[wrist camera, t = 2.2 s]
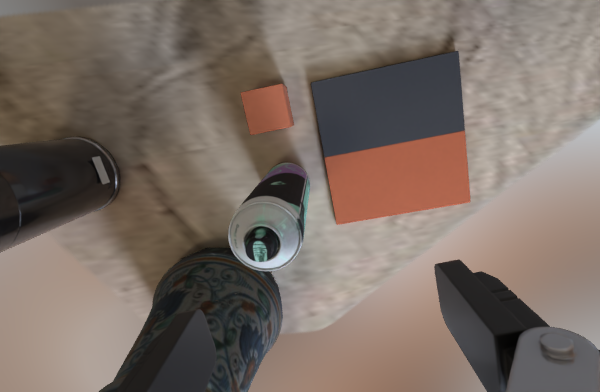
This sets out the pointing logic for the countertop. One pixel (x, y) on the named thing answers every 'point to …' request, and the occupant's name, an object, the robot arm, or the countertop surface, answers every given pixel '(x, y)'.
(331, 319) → the countertop surface
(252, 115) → the terracotta block
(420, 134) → the sorting mat
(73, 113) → the countertop surface
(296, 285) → the countertop surface
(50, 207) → the robot arm
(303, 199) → the spray can
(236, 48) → the countertop surface
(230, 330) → the beer stein
